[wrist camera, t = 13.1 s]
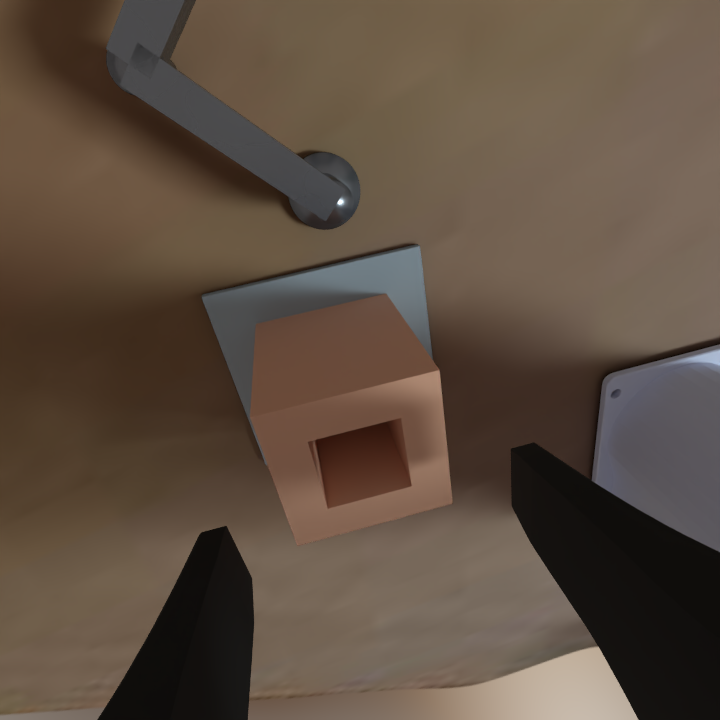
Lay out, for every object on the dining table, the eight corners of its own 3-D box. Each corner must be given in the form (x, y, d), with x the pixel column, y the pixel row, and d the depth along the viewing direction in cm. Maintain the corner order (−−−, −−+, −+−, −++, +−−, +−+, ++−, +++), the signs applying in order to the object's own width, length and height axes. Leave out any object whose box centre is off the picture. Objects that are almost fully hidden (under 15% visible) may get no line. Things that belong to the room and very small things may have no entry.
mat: (437, 415, 20) (439, 419, 20) (266, 460, 20) (266, 465, 19) (417, 244, 16) (419, 245, 16) (202, 294, 16) (201, 297, 16)
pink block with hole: (402, 400, 19) (452, 503, 14) (289, 429, 19) (297, 545, 14) (386, 293, 17) (439, 369, 12) (255, 323, 16) (249, 417, 11)
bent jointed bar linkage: (498, 188, 16) (543, 201, 13) (200, 256, 15) (186, 284, 13) (487, -254, 11) (556, -373, 8) (38, -185, 10) (-41, -292, 8)
